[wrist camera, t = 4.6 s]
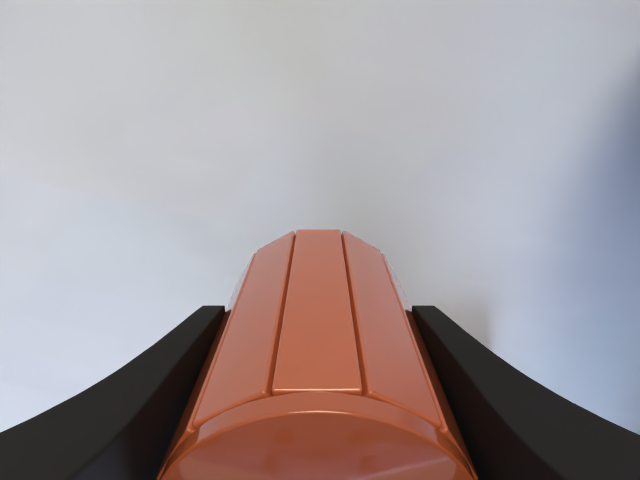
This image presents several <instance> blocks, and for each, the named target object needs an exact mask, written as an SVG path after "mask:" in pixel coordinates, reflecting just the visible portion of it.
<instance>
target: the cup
mask: <svg viewBox="0 0 640 480" xmlns="http://www.w3.org/2000/svg"><path fill="white" fill-rule="evenodd" d="M157 480H478V476H477V473H476V471H475V468H474V466H473V463H472V461H471V458H470V456H469V453H468V451H467V448H466V446H465V443H464V441H463V438H462V436H461V433H460V431H459V428H458V426H457V424H456V421H455V419H454V416H453V414H452V411H451V409H450V406H449V404H448V401H447V399H446V396H445V394H444V391H443V389H442V386H441V384H440V381H439V379H438V376H437V374H436V371H435V369H434V366H433V364H432V361H431V359H430V356H429V354H428V351H427V349H426V346H425V344H424V341H423V339H422V337H421V334H420V332H419V329H418V327H417V324H416V322H415V319H414V317H413V314H412V312H411V309H410V307H409V304H408V302H407V299H406V297H405V294H404V292H403V289H402V287H401V284H400V283H399V281H398V279H397V277H396V276H395V274H394V272H393V270H392V268H391V267H390V265H389V263H388V261H387V260H386V258H385V256H384V254H381V253H380V251H379V250H378V249H376V248H374V247H373V246H371V245H369V244H367V243H365V242H364V241H362V240H360V239H358V238H356V237H354V236H353V235H351V234H349V233H347V232H345V231H344V232H343V233H342V234H341V231H340V230H297V232H296V234H295V232H293V231H292V232H290V233H288V234H286V235H285V236H283V237H281V238H279V239H277V240H275V241H274V242H272V243H270V244H268V245H266V246H264V247H263V248H261V249H259V250H258V251H257V253H256V254H254V255H253V256H252V258H251V260H250V262H249V263H248V265H247V267H246V269H245V271H244V272H243V274H242V276H241V278H240V279H239V281H238V283H237V285H236V287H235V290H234V292H233V294H232V297H231V299H230V302H229V304H228V307H227V309H226V311H225V314H224V316H223V319H222V321H221V323H220V326H219V328H218V331H217V333H216V335H215V338H214V340H213V343H212V345H211V347H210V350H209V352H208V355H207V357H206V360H205V362H204V364H203V367H202V369H201V372H200V374H199V376H198V379H197V381H196V384H195V386H194V388H193V391H192V393H191V396H190V398H189V400H188V403H187V405H186V408H185V410H184V412H183V415H182V417H181V420H180V422H179V425H178V427H177V429H176V432H175V434H174V437H173V439H172V441H171V444H170V446H169V449H168V451H167V453H166V456H165V458H164V461H163V463H162V465H161V468H160V470H159V473H158V475H157Z"/></svg>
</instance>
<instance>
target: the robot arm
mask: <svg viewBox="0 0 640 480" xmlns="http://www.w3.org/2000/svg"><path fill="white" fill-rule="evenodd" d="M224 314H225V306H202V307H201V308H199V309H198V310H197V311H195V312H194V313H193V314H192V315H190V316H189V317H188V318H187V319H185V320H184V321H183V322H182V323H181V324H179V325H178V326H177V327H176V328H174V329H173V330H172V331H171V332H169V333H168V334H167V335H165V336H164V337H163V338H162V339H160V340H159V341H158V342H157V343H155V344H154V345H153V346H151V347H150V348H148V349H147V350H146V351H144V352H143V353H141V354H140V355H139V356H137V357H136V358H134V359H133V360H132V361H130V362H129V363H127V364H126V365H125V366H123V367H122V368H120V369H119V370H117V371H116V372H114V373H113V374H111V375H109V376H108V377H106V378H105V379H103V380H101V381H100V382H98V383H96V384H95V385H93V386H91V387H90V388H88V389H86V390H85V391H83V392H81V393H79V394H78V395H76V396H74V397H72V398H70V399H68V400H66V401H64V402H62V403H60V404H58V405H56V406H55V407H53V408H51V409H49V410H47V411H45V412H43V413H41V414H39V415H37V416H35V417H33V418H31V419H29V420H27V421H25V422H23V423H20V424H18V425H16V426H14V427H12V428H10V429H7V430H5V431H3V432H1V433H0V480H157V475H158V473H159V470H160V468H161V465H162V463H163V461H164V458H165V456H166V453H167V451H168V449H169V446H170V444H171V441H172V439H173V437H174V434H175V432H176V429H177V427H178V425H179V422H180V420H181V417H182V415H183V412H184V410H185V408H186V405H187V403H188V400H189V398H190V396H191V393H192V391H193V388H194V386H195V384H196V381H197V379H198V376H199V374H200V372H201V369H202V367H203V364H204V362H205V360H206V357H207V355H208V352H209V350H210V347H211V345H212V343H213V340H214V338H215V335H216V333H217V331H218V328H219V326H220V323H221V321H222V319H223V316H224ZM412 314H413V317H414V319H415V322H416V324H417V327H418V329H419V332H420V334H421V337H422V339H423V341H424V344H425V346H426V349H427V351H428V354H429V356H430V359H431V361H432V364H433V366H434V369H435V371H436V374H437V376H438V379H439V381H440V384H441V386H442V389H443V391H444V394H445V396H446V399H447V401H448V404H449V406H450V409H451V411H452V414H453V416H454V419H455V421H456V424H457V426H458V428H459V431H460V433H461V436H462V438H463V441H464V443H465V446H466V448H467V451H468V453H469V456H470V458H471V461H472V463H473V466H474V468H475V471H476V473H477V476H478V480H640V435H638V434H636V433H634V432H631V431H629V430H627V429H625V428H622V427H620V426H618V425H616V424H614V423H612V422H610V421H608V420H605V419H603V418H601V417H599V416H597V415H596V414H594V413H592V412H590V411H588V410H586V409H584V408H582V407H580V406H578V405H576V404H574V403H572V402H570V401H568V400H567V399H565V398H563V397H561V396H559V395H558V394H556V393H554V392H552V391H551V390H549V389H547V388H546V387H544V386H542V385H541V384H539V383H537V382H536V381H534V380H532V379H531V378H529V377H528V376H526V375H525V374H523V373H521V372H520V371H518V370H517V369H515V368H514V367H513V366H511V365H510V364H508V363H507V362H505V361H504V360H503V359H501V358H500V357H498V356H497V355H496V354H494V353H493V352H492V351H490V350H489V349H487V348H486V347H485V346H484V345H482V344H481V343H480V342H478V341H477V340H476V339H475V338H473V337H472V336H471V335H470V334H468V333H467V332H466V331H465V330H463V329H462V328H461V327H460V326H458V325H457V324H456V323H455V322H454V321H452V320H451V319H450V318H449V317H448V316H446V315H445V314H444V313H443V312H441V311H440V310H439V309H438V308H436V307H435V306H412Z"/></svg>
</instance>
